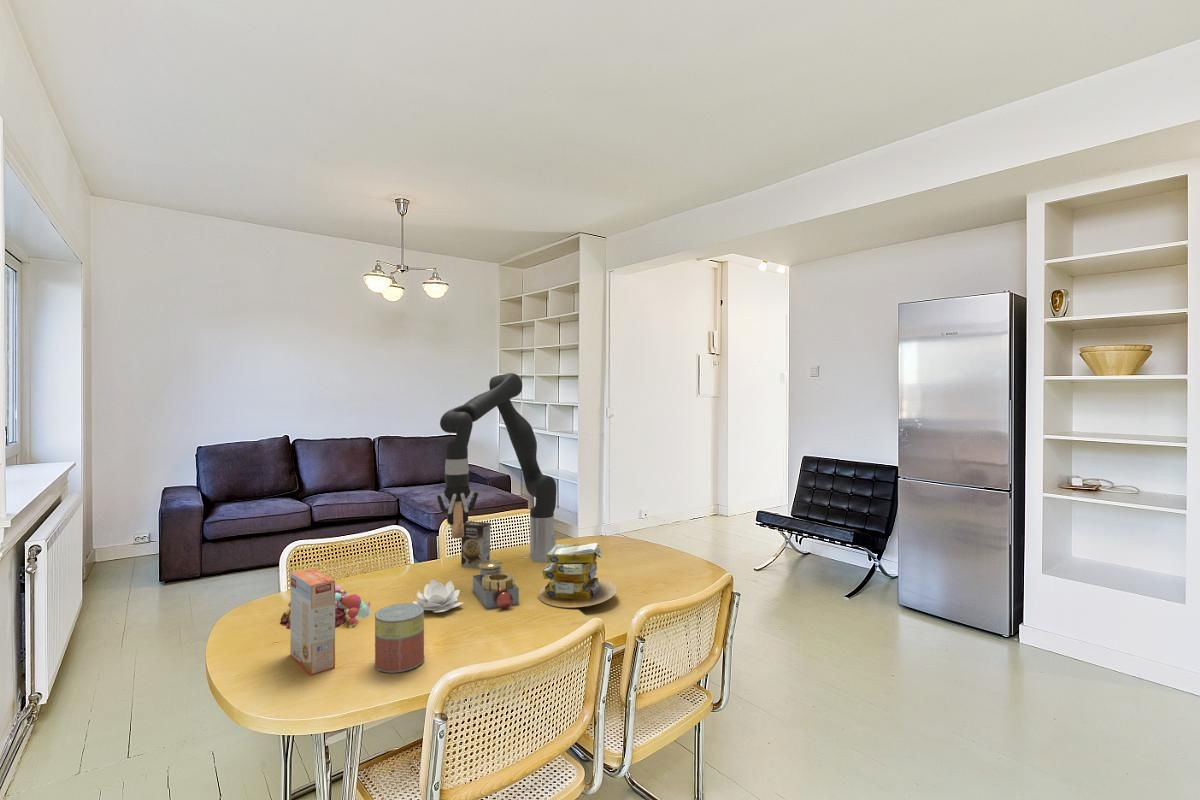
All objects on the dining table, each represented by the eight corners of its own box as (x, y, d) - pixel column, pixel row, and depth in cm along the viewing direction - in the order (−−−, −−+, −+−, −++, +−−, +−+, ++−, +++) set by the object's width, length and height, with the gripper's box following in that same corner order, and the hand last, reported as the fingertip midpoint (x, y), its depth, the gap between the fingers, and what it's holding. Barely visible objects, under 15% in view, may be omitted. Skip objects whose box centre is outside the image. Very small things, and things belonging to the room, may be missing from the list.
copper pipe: (462, 534, 196) (462, 499, 196) (465, 537, 192) (464, 501, 192) (450, 536, 194) (450, 500, 194) (452, 538, 191) (452, 502, 191)
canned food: (407, 647, 148) (407, 600, 148) (433, 660, 141) (433, 610, 141) (365, 663, 140) (365, 612, 139) (391, 677, 132) (391, 624, 132)
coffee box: (460, 567, 216) (460, 524, 216) (469, 562, 223) (469, 520, 222) (482, 569, 214) (482, 525, 214) (490, 564, 220) (490, 522, 220)
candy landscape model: (268, 640, 153) (268, 605, 153) (289, 609, 176) (289, 578, 176) (370, 630, 160) (370, 596, 160) (378, 601, 183) (378, 571, 183)
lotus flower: (459, 598, 184) (459, 570, 184) (465, 615, 170) (465, 585, 170) (412, 603, 179) (411, 575, 179) (414, 621, 165) (413, 590, 165)
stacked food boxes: (594, 611, 170) (594, 553, 172) (523, 601, 181) (523, 547, 182) (627, 592, 192) (627, 541, 194) (562, 585, 203) (562, 536, 204)
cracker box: (337, 668, 137) (336, 579, 137) (309, 677, 133) (309, 585, 132) (315, 649, 147) (315, 566, 147) (289, 657, 143) (289, 571, 142)
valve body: (472, 590, 191) (472, 562, 191) (502, 586, 195) (502, 558, 195) (488, 612, 172) (488, 580, 172) (521, 607, 176) (521, 576, 176)
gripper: (475, 469, 199) (476, 519, 200) (433, 472, 193) (433, 524, 194) (481, 472, 193) (481, 524, 193) (436, 475, 187) (437, 528, 187)
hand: (457, 523), depth 193 cm, fingers closed on copper pipe, 4 cm apart
